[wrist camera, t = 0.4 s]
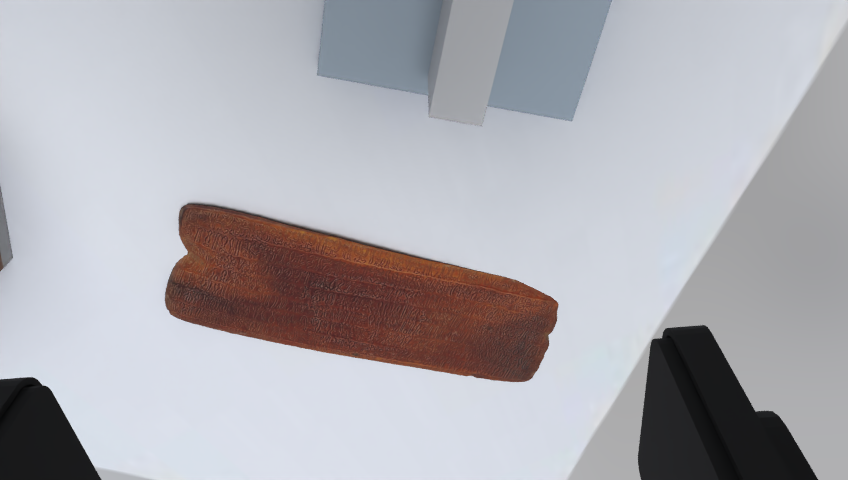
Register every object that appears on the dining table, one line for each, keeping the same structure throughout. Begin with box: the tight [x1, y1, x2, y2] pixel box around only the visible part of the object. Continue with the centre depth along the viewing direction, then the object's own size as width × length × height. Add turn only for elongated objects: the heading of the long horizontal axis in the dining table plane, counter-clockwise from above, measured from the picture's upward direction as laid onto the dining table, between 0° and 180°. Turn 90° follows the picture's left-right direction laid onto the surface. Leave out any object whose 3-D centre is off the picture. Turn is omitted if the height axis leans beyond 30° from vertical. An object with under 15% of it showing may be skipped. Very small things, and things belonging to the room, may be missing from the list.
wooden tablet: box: [165, 204, 558, 382], centre depth 45 cm, size 27×10×2 cm, turn 73°
